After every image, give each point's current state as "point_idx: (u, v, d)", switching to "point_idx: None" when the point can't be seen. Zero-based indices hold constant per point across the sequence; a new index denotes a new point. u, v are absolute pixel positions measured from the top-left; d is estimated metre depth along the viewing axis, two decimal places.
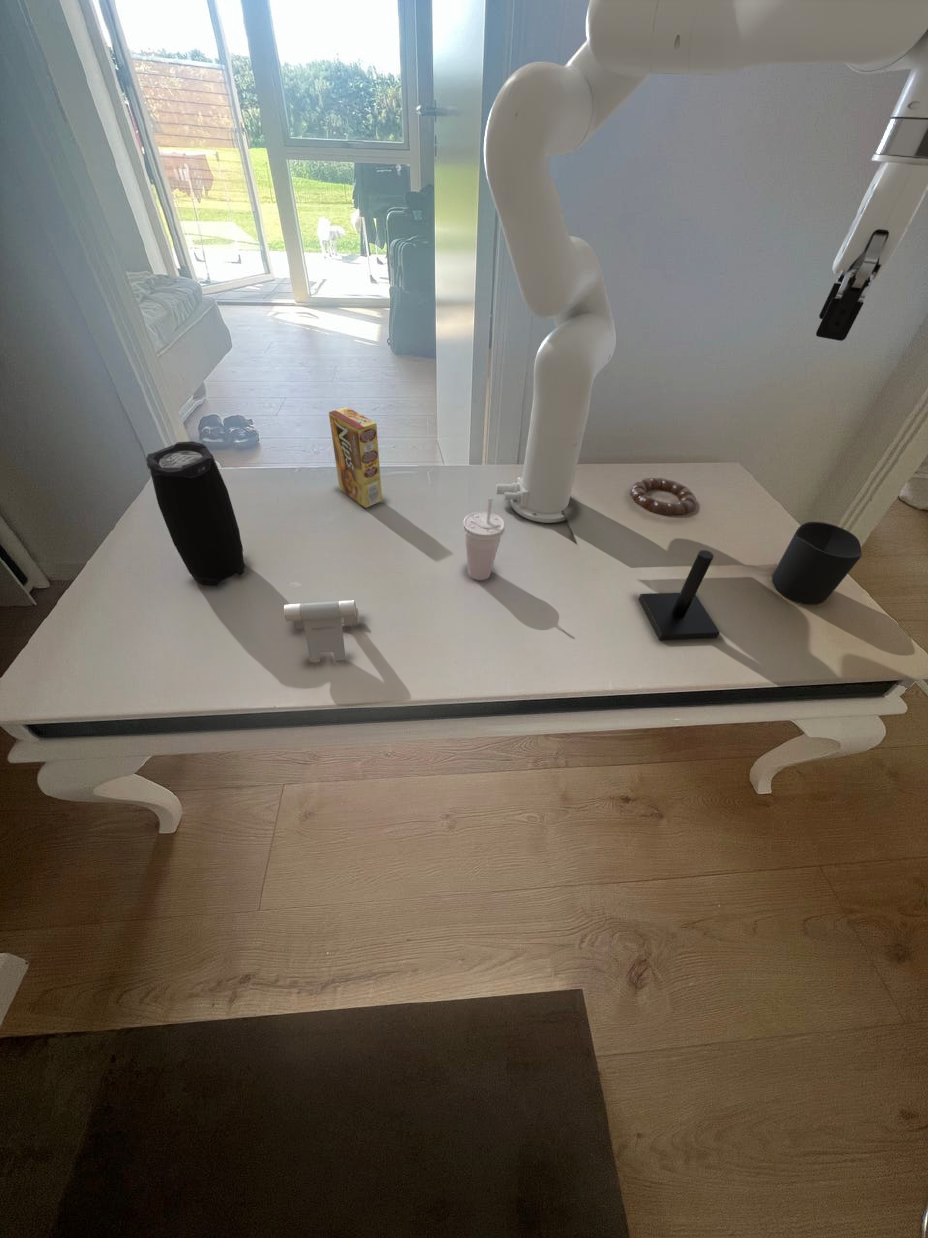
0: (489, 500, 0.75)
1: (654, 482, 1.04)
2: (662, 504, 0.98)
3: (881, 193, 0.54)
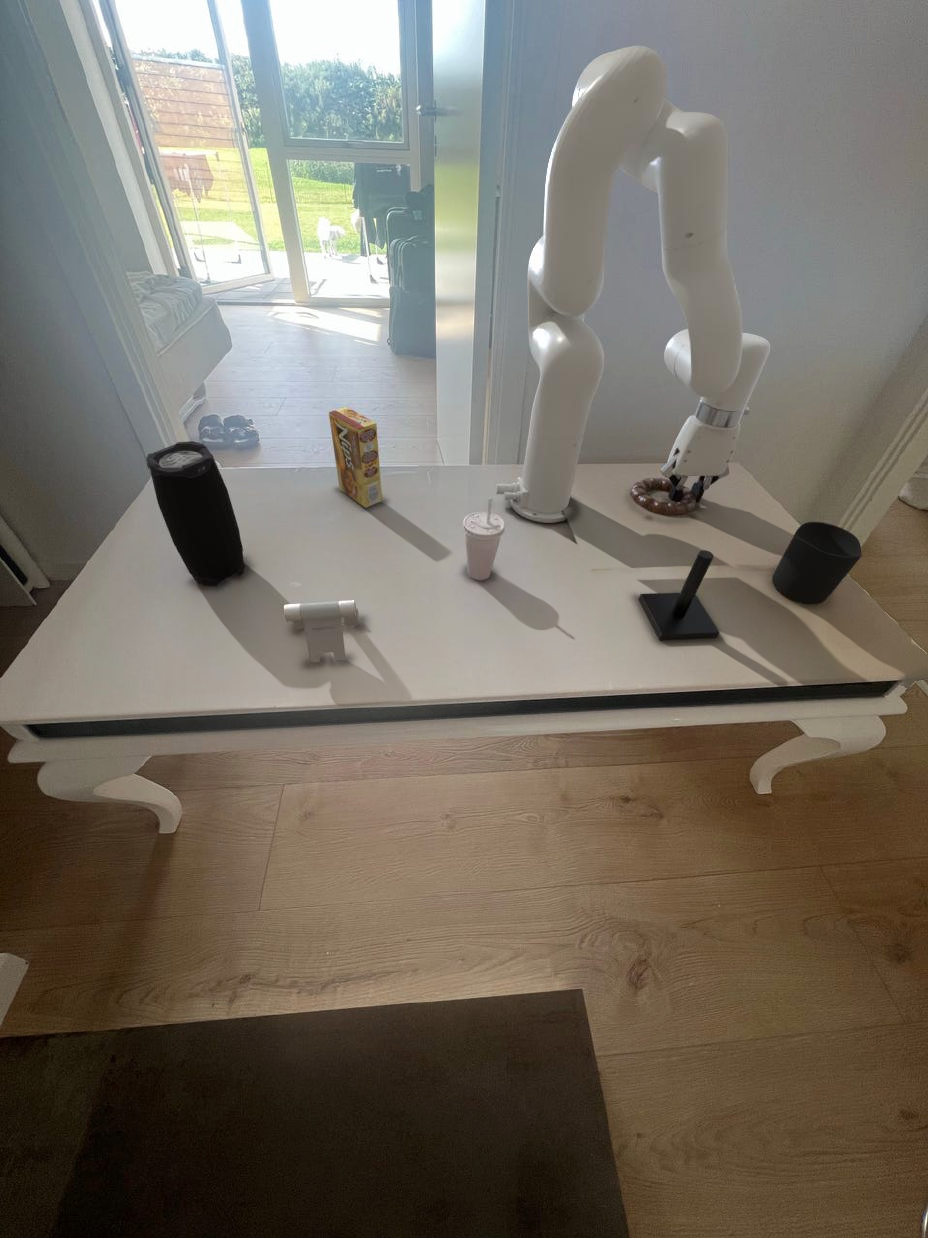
0: (489, 500, 0.75)
1: (654, 482, 1.04)
2: (662, 504, 0.98)
3: (681, 429, 0.95)
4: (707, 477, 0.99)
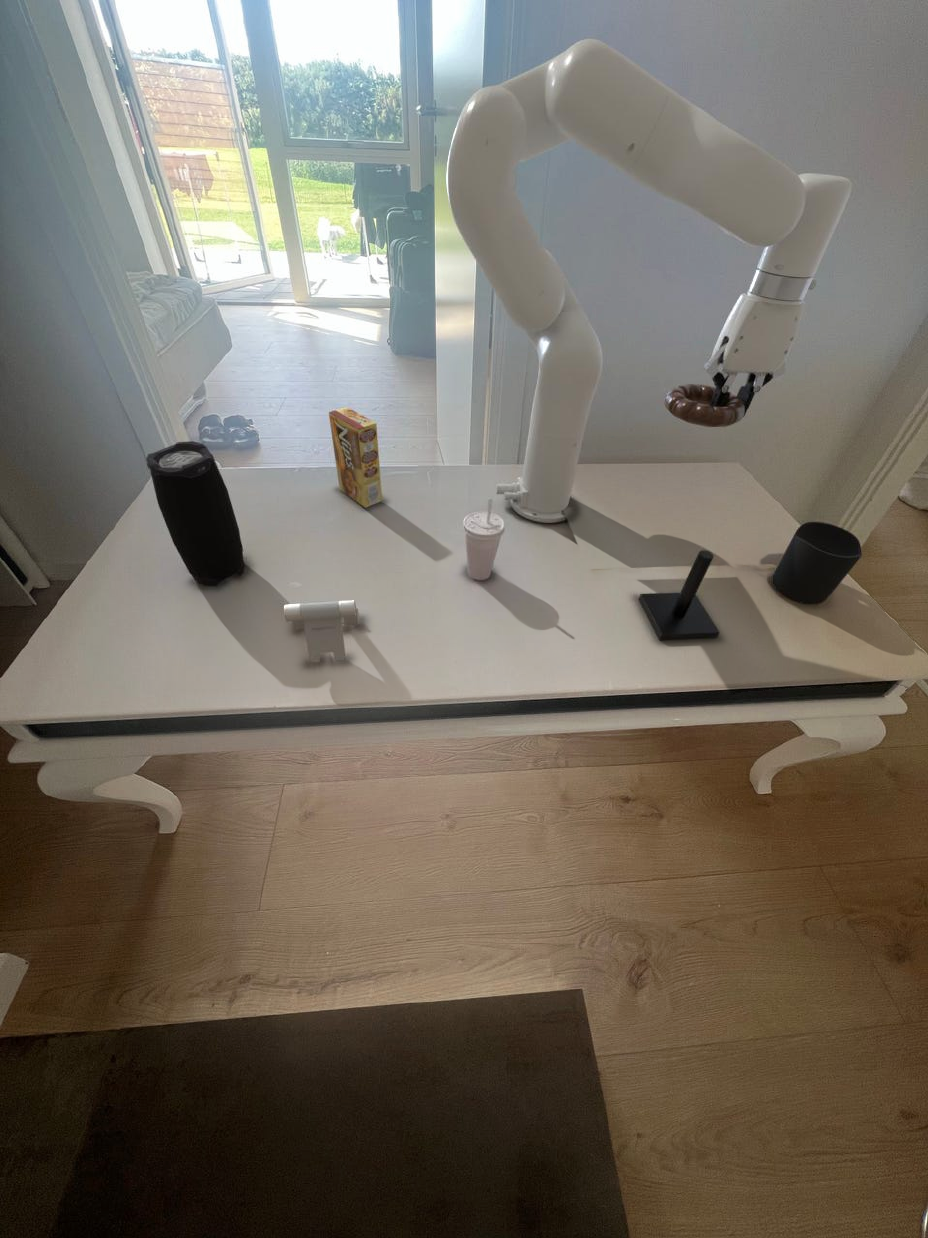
0: (489, 500, 0.75)
1: (693, 388, 0.88)
2: (707, 407, 0.81)
3: (731, 312, 0.78)
4: (759, 375, 0.82)
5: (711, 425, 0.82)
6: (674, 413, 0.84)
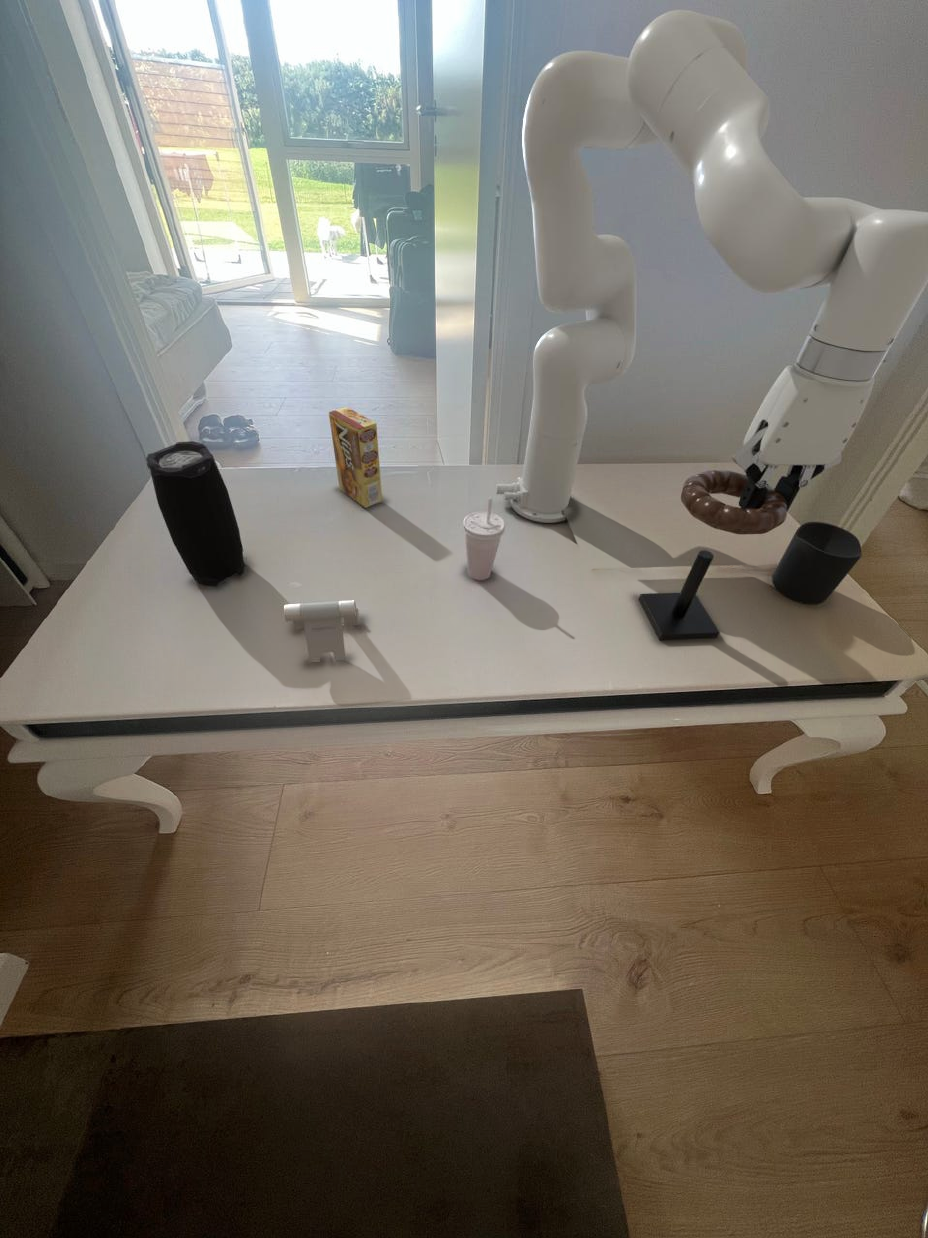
0: (489, 500, 0.75)
1: (717, 477, 0.68)
2: (737, 511, 0.61)
3: (771, 389, 0.58)
4: (807, 467, 0.62)
5: (743, 533, 0.62)
6: (693, 514, 0.64)
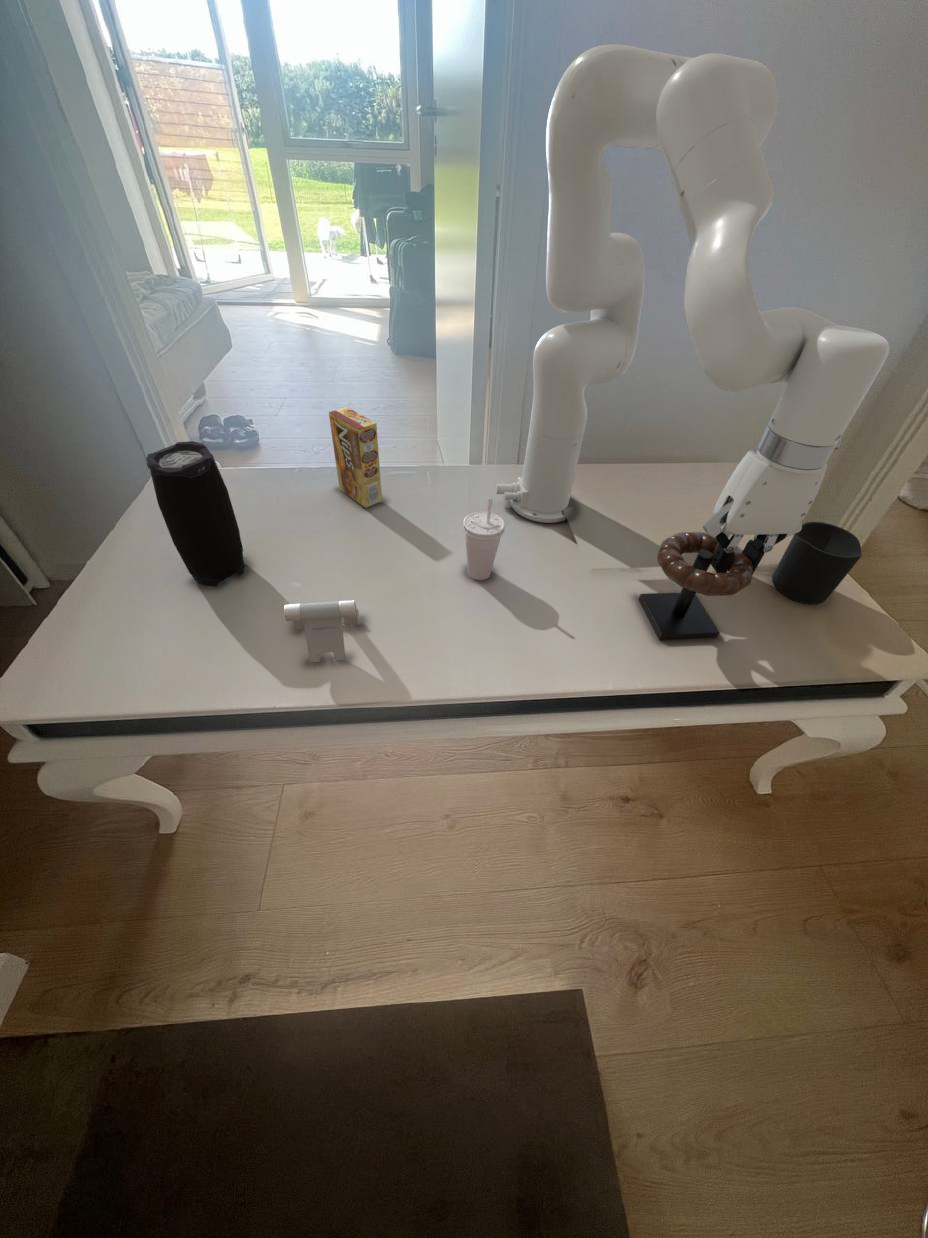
0: (489, 500, 0.75)
1: (691, 539, 0.74)
2: (706, 576, 0.68)
3: (736, 470, 0.64)
4: (771, 536, 0.68)
5: (712, 595, 0.69)
6: (668, 576, 0.71)
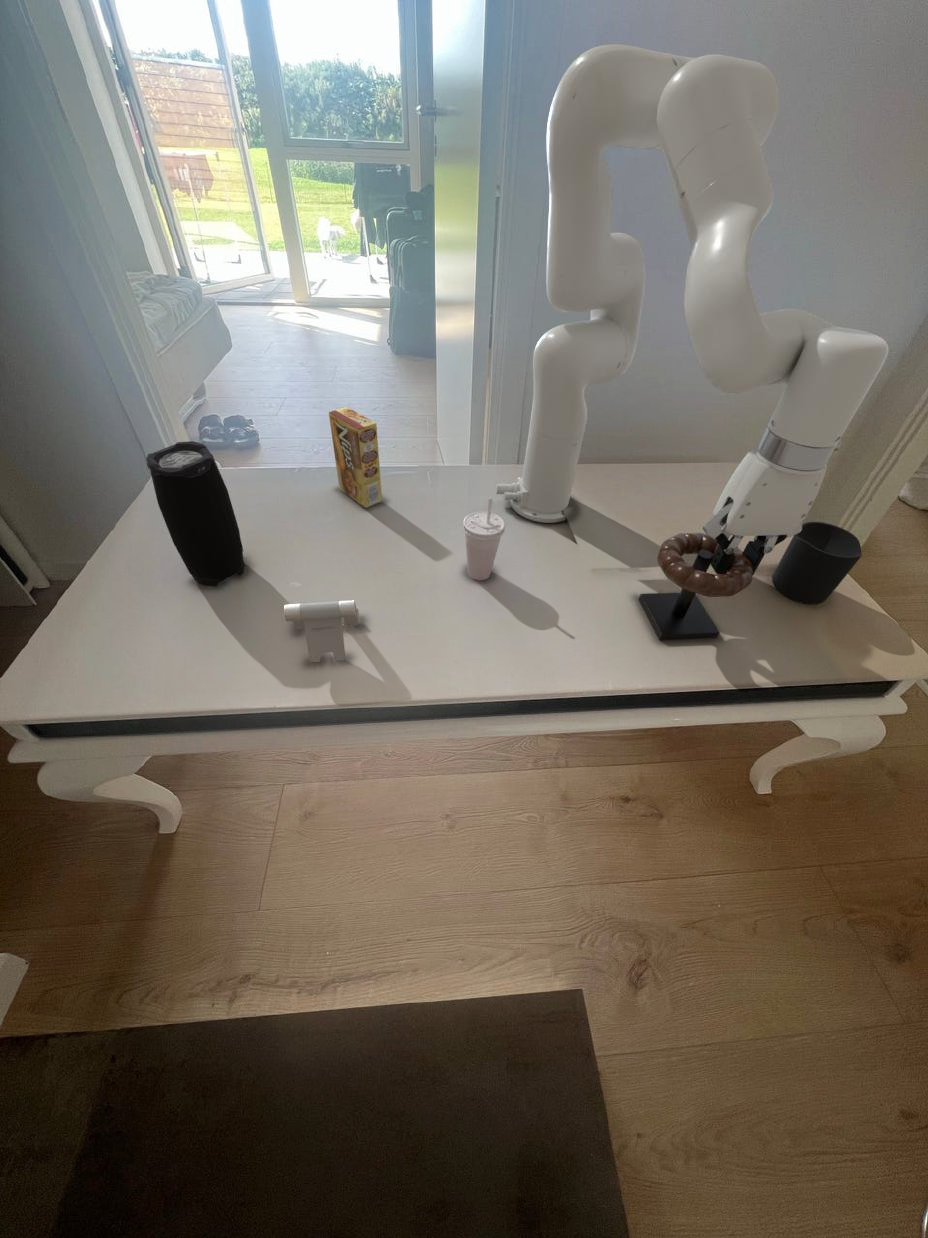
0: (489, 500, 0.75)
1: (691, 540, 0.74)
2: (706, 577, 0.68)
3: (736, 471, 0.64)
4: (771, 537, 0.69)
5: (712, 596, 0.69)
6: (668, 577, 0.71)
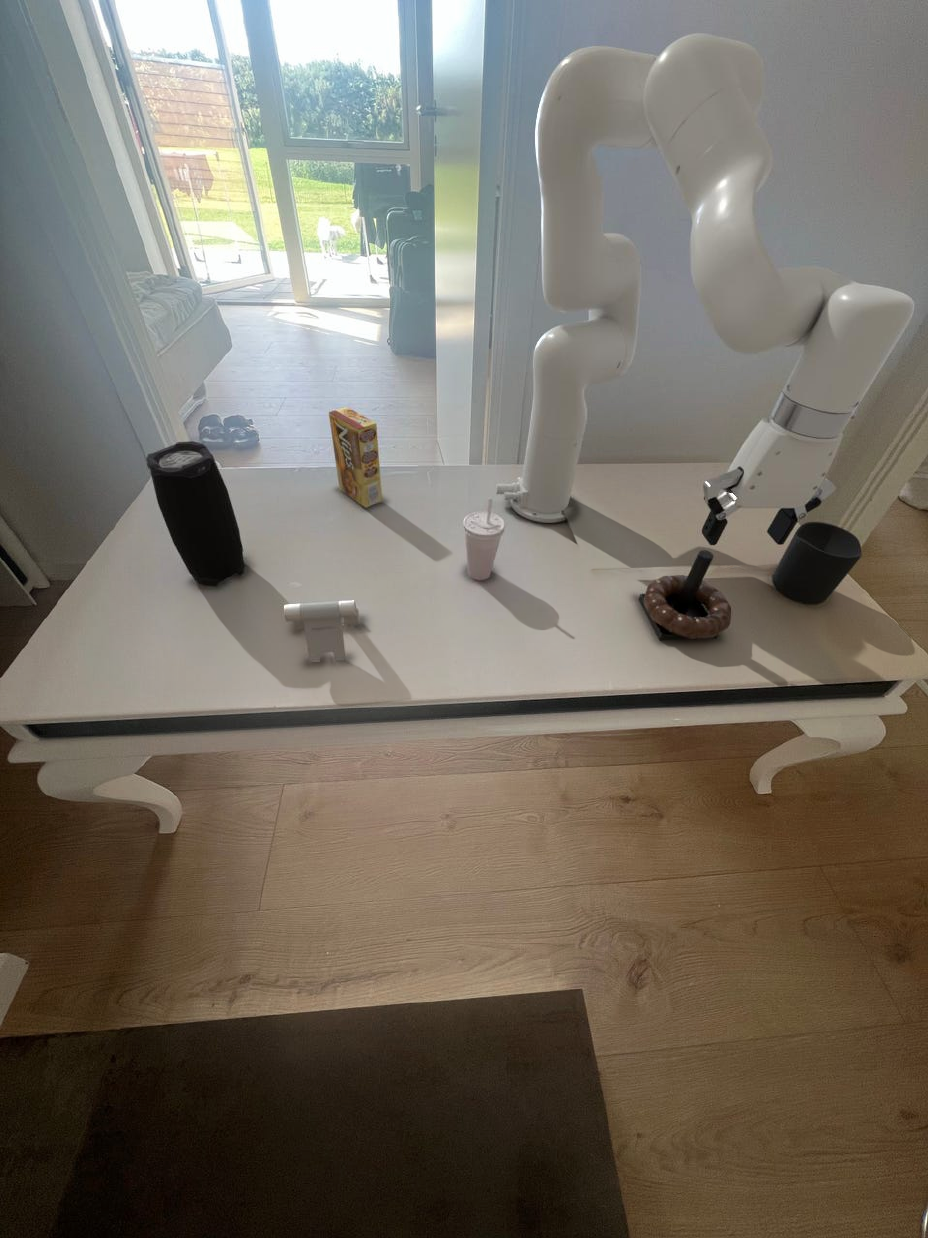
0: (489, 500, 0.75)
1: (675, 582, 0.80)
2: (688, 620, 0.73)
3: (748, 439, 0.62)
4: None
5: (693, 638, 0.74)
6: (653, 619, 0.76)
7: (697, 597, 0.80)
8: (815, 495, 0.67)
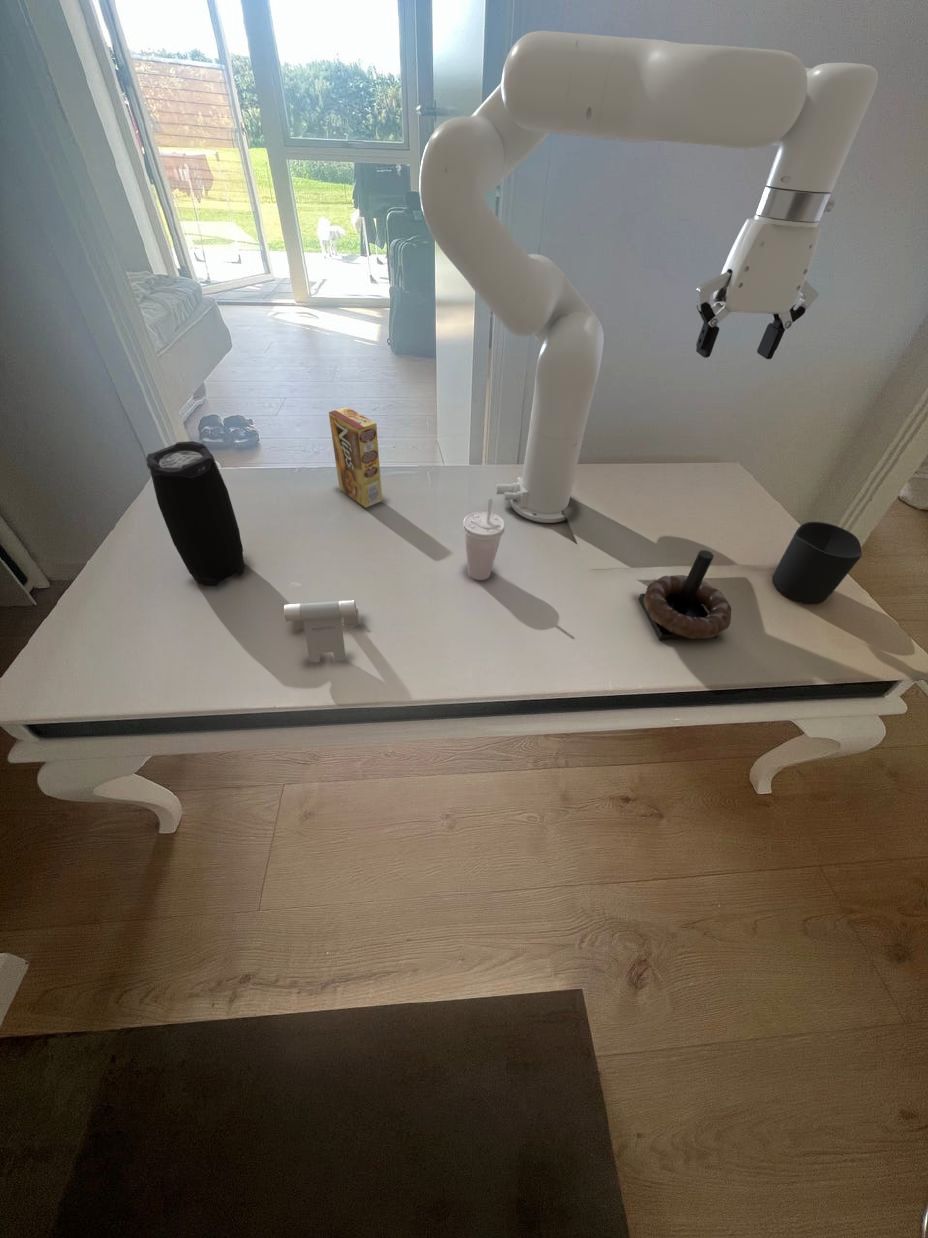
0: (489, 500, 0.75)
1: (675, 582, 0.80)
2: (688, 620, 0.73)
3: (735, 241, 0.68)
4: (782, 312, 0.72)
5: (693, 638, 0.74)
6: (653, 619, 0.76)
7: (697, 597, 0.80)
8: (799, 303, 0.73)
